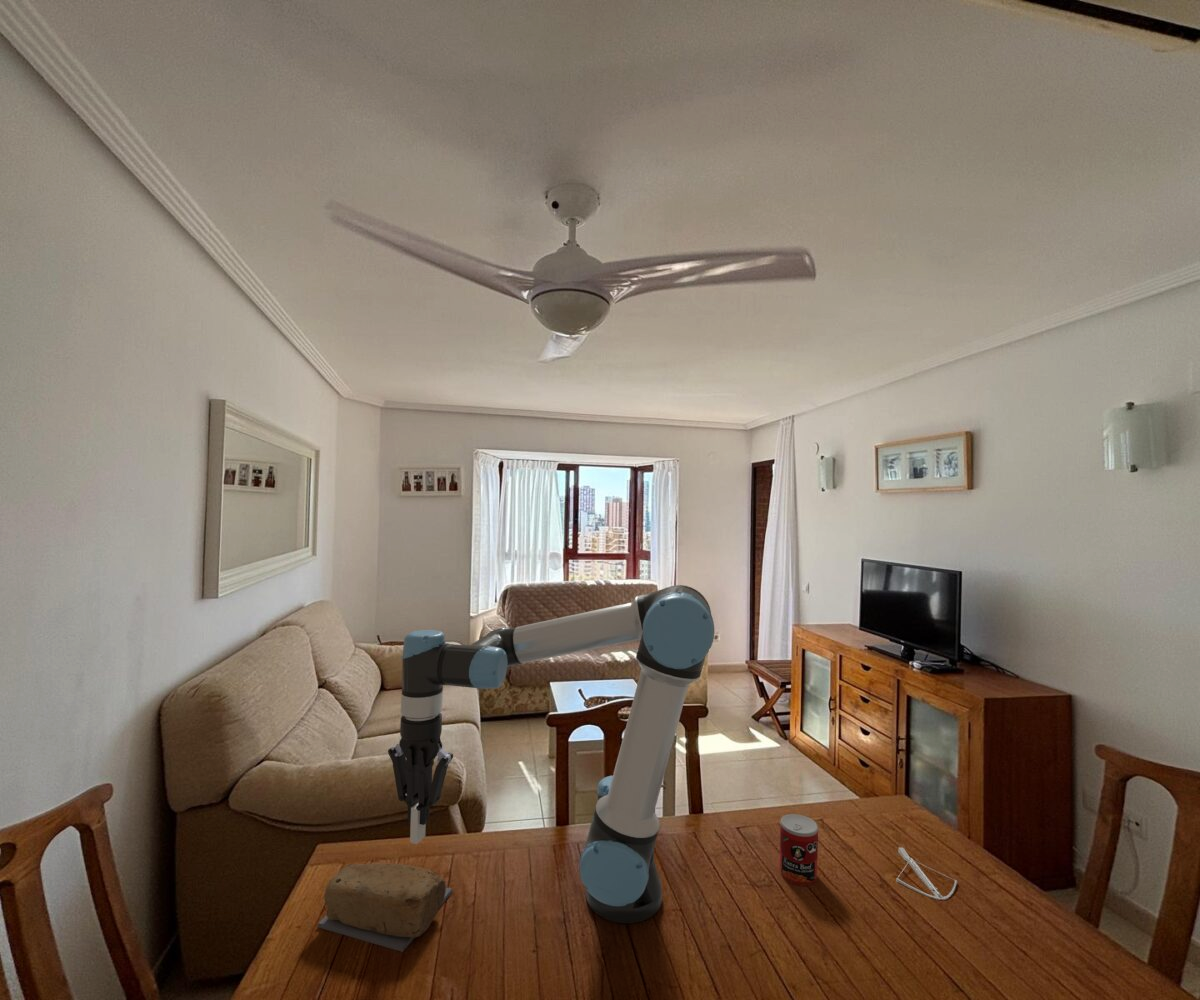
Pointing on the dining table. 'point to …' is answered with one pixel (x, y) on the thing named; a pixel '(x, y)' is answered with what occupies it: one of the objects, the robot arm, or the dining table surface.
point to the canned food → (798, 849)
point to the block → (385, 898)
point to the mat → (370, 932)
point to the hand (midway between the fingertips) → (417, 839)
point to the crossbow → (922, 878)
